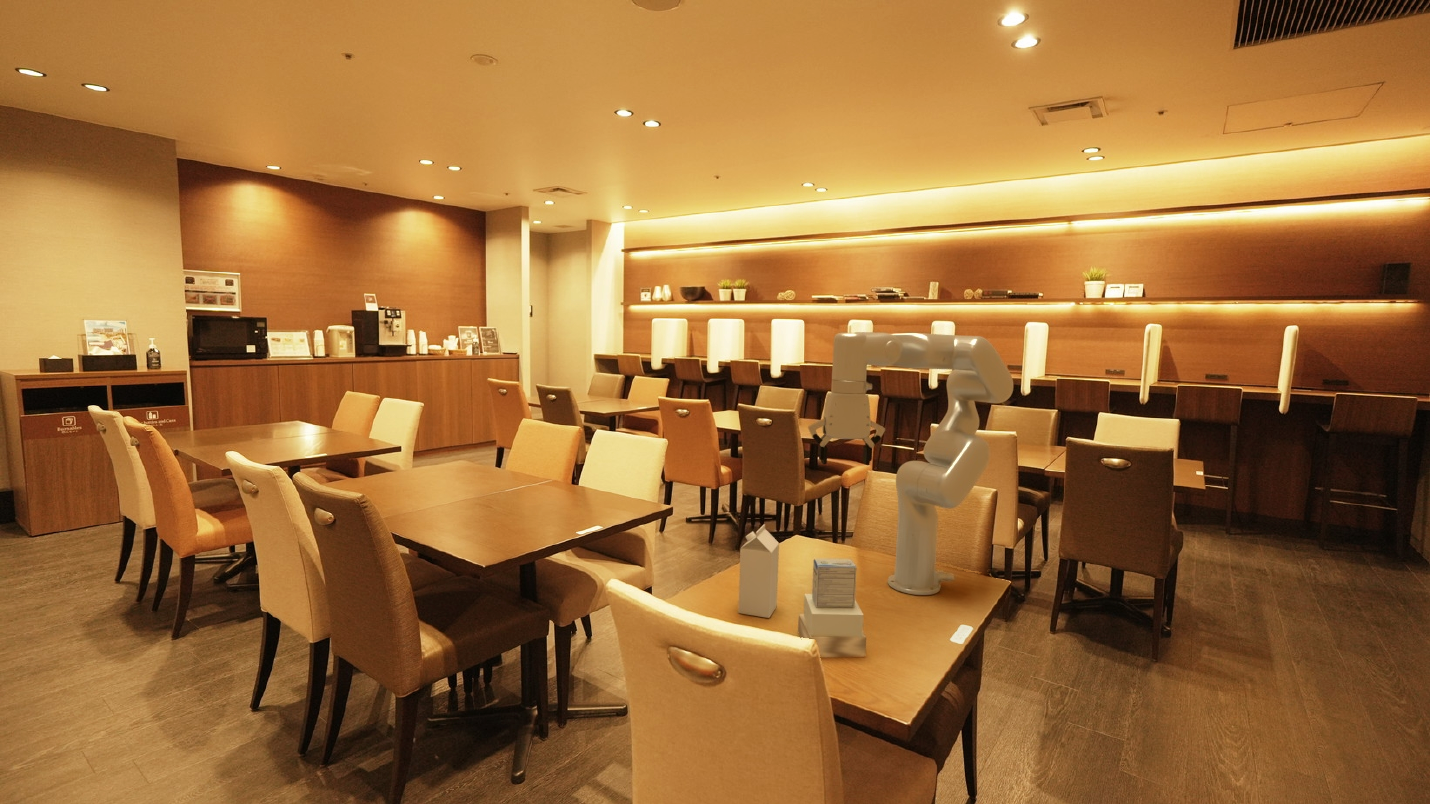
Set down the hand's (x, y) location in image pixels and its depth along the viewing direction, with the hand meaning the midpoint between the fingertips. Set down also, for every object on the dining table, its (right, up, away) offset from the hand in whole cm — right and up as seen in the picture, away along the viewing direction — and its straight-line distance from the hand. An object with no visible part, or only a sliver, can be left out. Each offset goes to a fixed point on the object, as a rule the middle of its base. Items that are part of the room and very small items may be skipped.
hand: (844, 463), depth 151 cm
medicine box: (-6, -27, -17) cm, 32 cm away
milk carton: (-20, -33, 0) cm, 39 cm away
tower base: (-6, -36, -16) cm, 39 cm away
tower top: (-6, -31, -16) cm, 36 cm away
